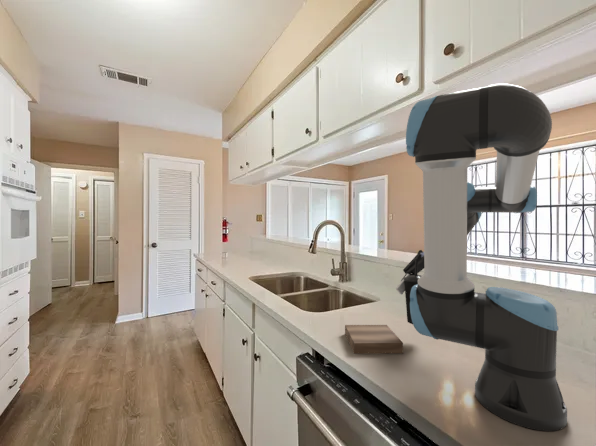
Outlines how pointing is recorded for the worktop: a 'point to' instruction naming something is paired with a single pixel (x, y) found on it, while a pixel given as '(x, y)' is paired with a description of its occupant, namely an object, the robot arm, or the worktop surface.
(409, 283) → the drinking cup
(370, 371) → the worktop surface
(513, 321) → the robot arm
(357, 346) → the walnut riser
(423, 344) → the worktop surface
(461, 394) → the worktop surface
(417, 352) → the worktop surface
